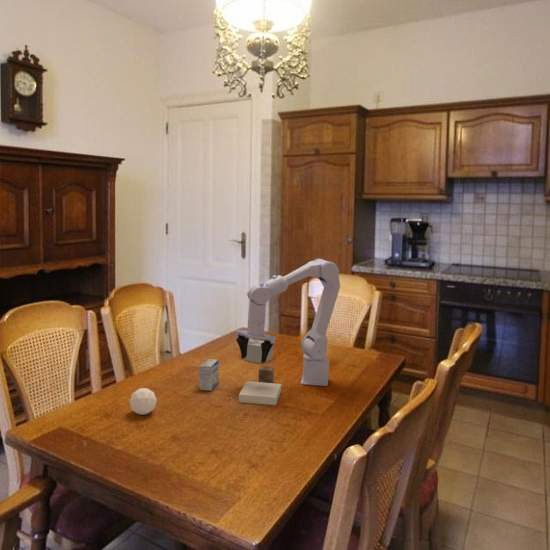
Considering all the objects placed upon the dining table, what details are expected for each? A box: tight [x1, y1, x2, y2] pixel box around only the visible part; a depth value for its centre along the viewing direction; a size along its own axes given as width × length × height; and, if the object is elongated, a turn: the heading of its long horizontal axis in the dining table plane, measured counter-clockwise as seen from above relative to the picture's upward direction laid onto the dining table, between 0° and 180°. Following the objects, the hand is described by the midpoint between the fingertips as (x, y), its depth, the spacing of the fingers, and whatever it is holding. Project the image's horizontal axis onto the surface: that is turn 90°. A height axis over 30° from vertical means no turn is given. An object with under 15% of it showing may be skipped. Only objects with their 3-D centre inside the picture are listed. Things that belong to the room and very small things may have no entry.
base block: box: [238, 380, 282, 406], centre depth 163 cm, size 12×12×3 cm
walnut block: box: [258, 365, 275, 384], centre depth 173 cm, size 5×5×6 cm
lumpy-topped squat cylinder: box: [241, 338, 274, 364], centre depth 202 cm, size 10×13×9 cm
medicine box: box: [198, 358, 220, 392], centre depth 170 cm, size 8×4×9 cm, turn 168°
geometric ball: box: [129, 387, 158, 416], centre depth 148 cm, size 8×8×8 cm
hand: (253, 359), depth 169 cm, fingers open, 7 cm apart
